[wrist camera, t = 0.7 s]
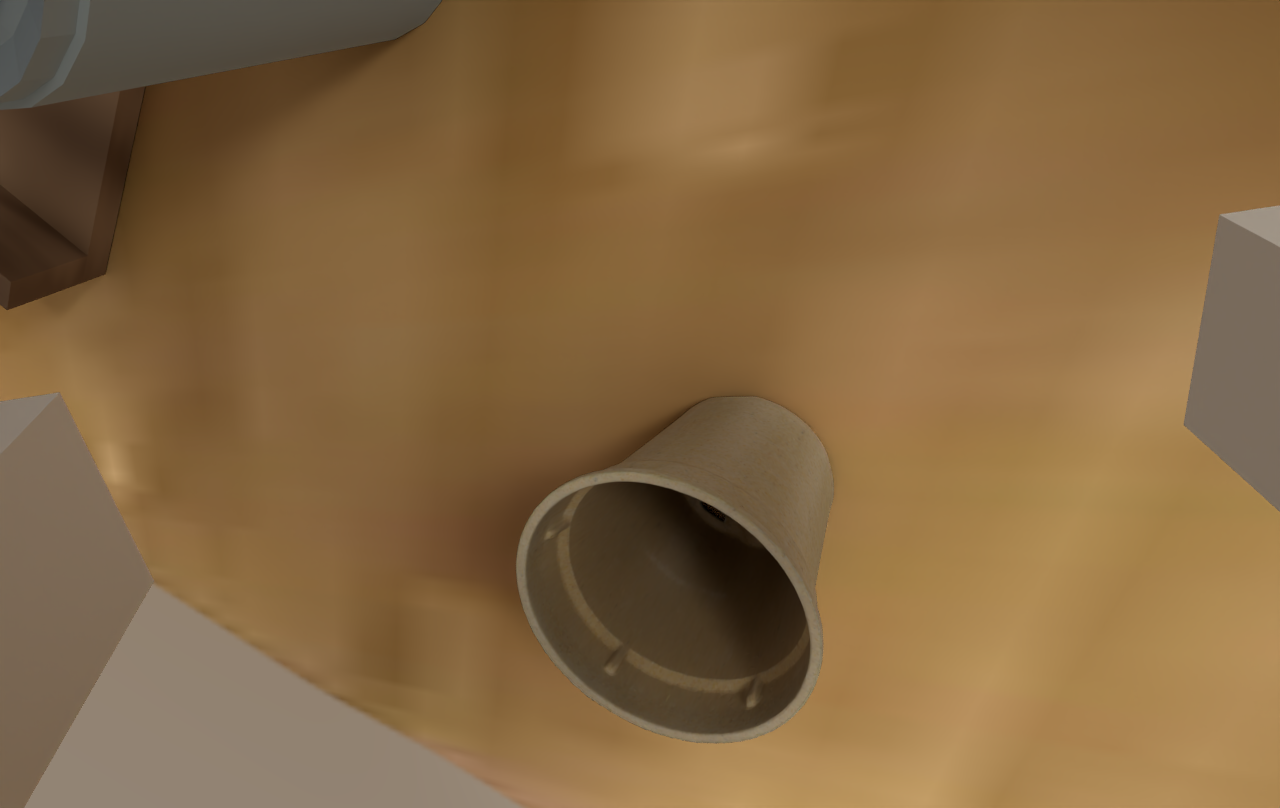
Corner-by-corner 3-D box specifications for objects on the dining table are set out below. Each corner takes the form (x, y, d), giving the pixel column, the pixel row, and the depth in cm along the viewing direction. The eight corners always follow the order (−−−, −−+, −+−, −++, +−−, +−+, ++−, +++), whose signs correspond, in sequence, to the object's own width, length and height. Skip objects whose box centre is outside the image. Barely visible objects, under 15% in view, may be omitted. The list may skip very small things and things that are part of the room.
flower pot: (845, 617, 36) (781, 793, 28) (616, 529, 38) (505, 671, 31) (916, 400, 31) (859, 546, 24) (648, 317, 33) (525, 427, 26)
